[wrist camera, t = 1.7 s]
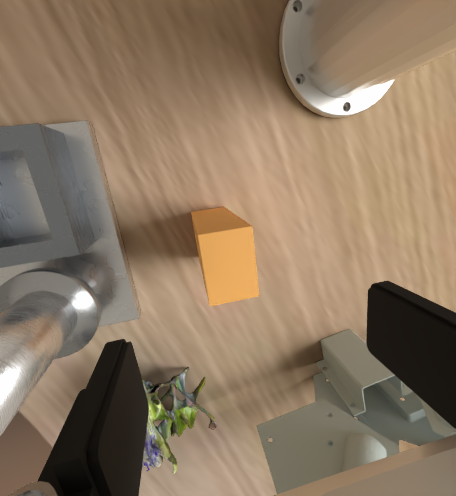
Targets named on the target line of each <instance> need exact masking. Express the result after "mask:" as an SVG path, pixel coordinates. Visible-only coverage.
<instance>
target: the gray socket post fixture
mask: <svg viewBox="0 0 456 496" xmlns="http://www.w3.org/2000/svg"><path fill="white" fill-rule="evenodd" d="M140 313H141V309H140V306H139V302H138V298H137V294H136V290H135V286H134V282H133V279H132V275H131V271H130V267H129V263H128V259H127V256H126V252H125V248H124V244H123V240H122V236H121V232H120V229H119V225H118V221H117V217H116V213H115V209H114V205H113V202H112V198H111V194H110V190H109V186H108V182H107V179H106V175H105V171H104V167H103V163H102V159H101V155H100V152H99V148H98V144H97V140H96V136H95V132H94V129H93V125H92V124H91V123H90V122H88V121H78V122H68V123H58V124H48V125H41V124H38V123H36V124H26V125H16V126H6V127H0V436H1V434H2V433H3V432H4V430H5V429H6V427H7V426H8V425H9V423H10V422H11V420H12V418H13V417H14V416H15V414H16V413H17V412H18V410H19V409H20V407H21V406H22V404H23V403H24V401H25V400H26V399H27V397H28V396H29V394H30V393H31V391H32V390H33V389H34V387H35V386H36V384H37V383H38V381H39V380H40V378H41V377H42V376H43V374H44V373H45V371H46V370H47V368H48V367H49V366H50V364H51V363H52V361H53V360H54V359H56V358H61V357H65V356H68V355H71V354H73V353H75V352H77V351H79V350H80V349H82V348H83V347H84V346H85V345H87V344H88V342H89V341H90V340H91V339H92V337H93V336H94V334H95V332H96V330H97V328H98V327H101V326H106V325H110V324H115V323H120V322H125V321H130V320H135V319H139V317H140Z"/></svg>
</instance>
